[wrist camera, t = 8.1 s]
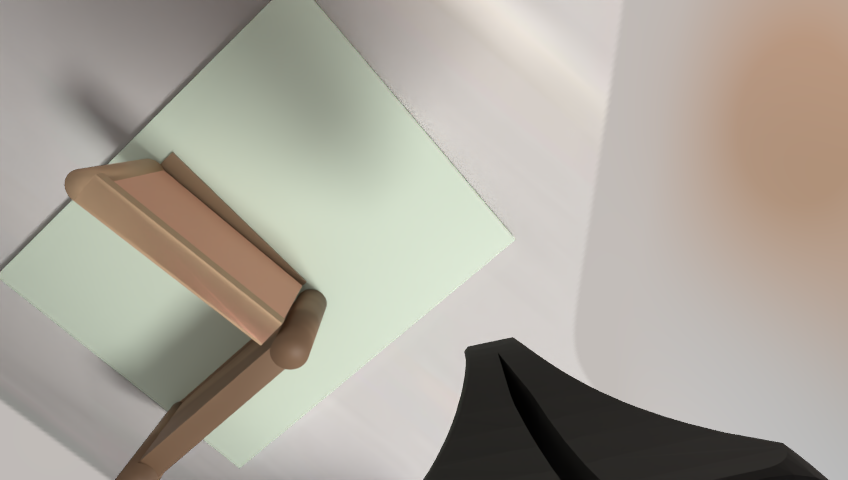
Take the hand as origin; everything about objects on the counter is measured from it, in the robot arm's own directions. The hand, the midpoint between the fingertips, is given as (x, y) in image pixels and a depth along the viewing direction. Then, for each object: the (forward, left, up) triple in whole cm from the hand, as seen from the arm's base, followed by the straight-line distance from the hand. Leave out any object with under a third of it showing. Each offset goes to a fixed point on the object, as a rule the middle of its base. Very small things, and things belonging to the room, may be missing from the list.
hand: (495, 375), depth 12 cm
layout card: (+6, +6, -9) cm, 13 cm away
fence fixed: (+3, +10, -9) cm, 14 cm away
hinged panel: (+8, +6, -9) cm, 14 cm away
